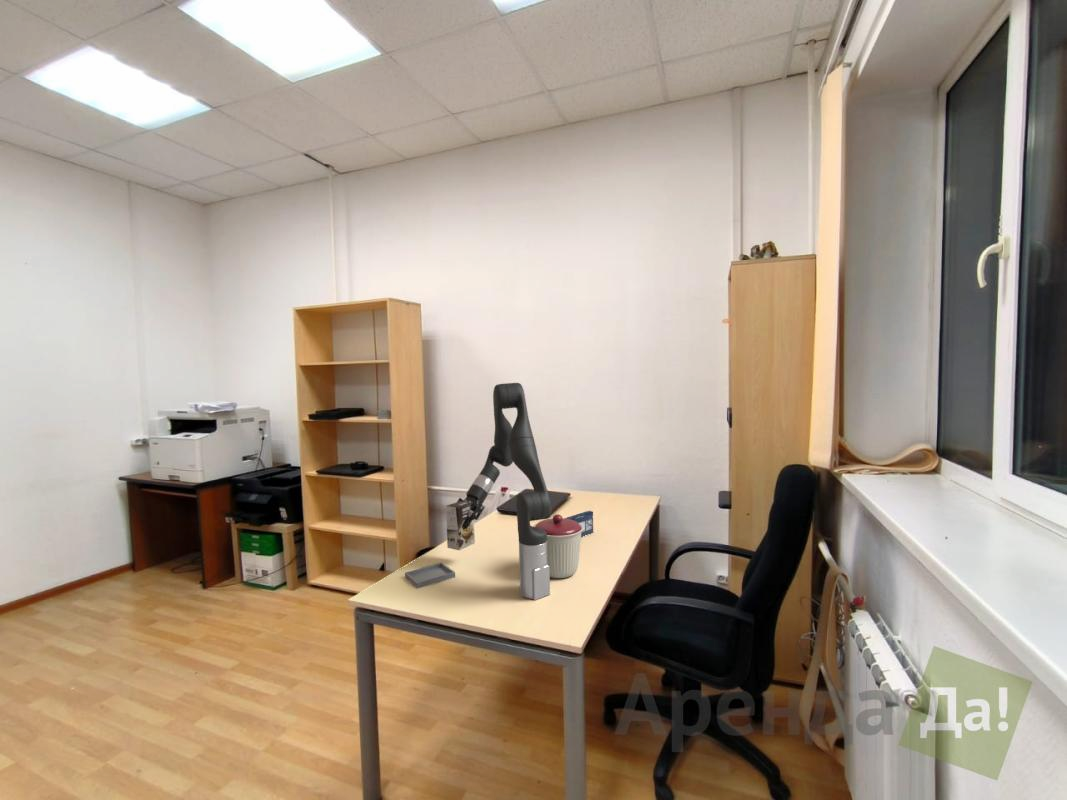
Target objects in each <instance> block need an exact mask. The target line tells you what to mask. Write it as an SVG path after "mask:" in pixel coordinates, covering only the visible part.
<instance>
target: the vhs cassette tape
mask: <svg viewBox="0 0 1067 800" xmlns="http://www.w3.org/2000/svg"><path fill="white" fill-rule="evenodd" d="M564 519H570V520H574V521H576V522H578V523H579V524H581V525H582V526H583V531H582V532H581V538H584V537H586V536H585V535H587V536H589V535H588V534H590V535H591V533H593V534H594V511H592V510H586V511H584V512H580V513H576V514H573V515H571V516H567V517H565V518H564ZM583 536H584V537H583Z"/></svg>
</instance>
